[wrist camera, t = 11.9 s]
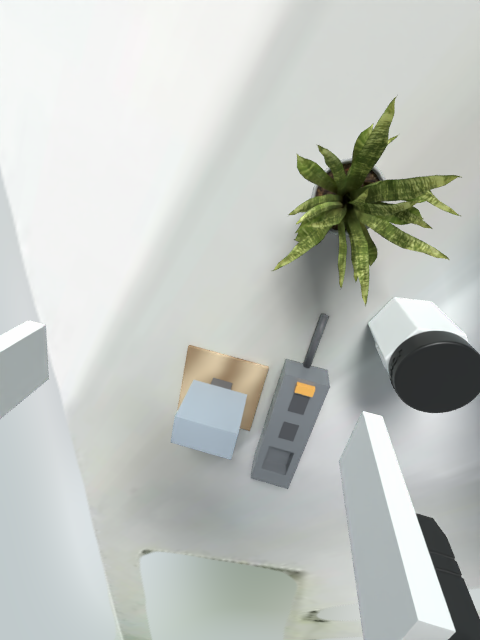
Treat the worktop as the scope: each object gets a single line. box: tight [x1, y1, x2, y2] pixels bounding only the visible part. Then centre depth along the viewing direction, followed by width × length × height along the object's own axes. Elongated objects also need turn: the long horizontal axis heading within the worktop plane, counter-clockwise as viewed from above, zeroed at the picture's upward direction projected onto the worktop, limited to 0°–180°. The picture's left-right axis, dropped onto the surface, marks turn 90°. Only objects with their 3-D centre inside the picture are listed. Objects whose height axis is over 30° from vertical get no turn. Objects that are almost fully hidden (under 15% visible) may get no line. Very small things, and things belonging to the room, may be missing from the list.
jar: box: [368, 297, 480, 413], centre depth 37 cm, size 9×8×12 cm
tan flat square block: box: [177, 345, 269, 431], centre depth 51 cm, size 12×12×1 cm
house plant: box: [273, 96, 460, 306], centre depth 31 cm, size 14×14×16 cm
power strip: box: [251, 314, 330, 489], centre depth 47 cm, size 28×6×5 cm, turn 168°
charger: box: [171, 378, 247, 460], centre depth 46 cm, size 4×8×10 cm, turn 78°
